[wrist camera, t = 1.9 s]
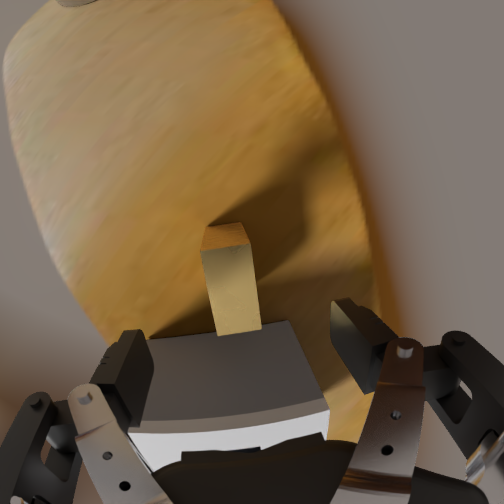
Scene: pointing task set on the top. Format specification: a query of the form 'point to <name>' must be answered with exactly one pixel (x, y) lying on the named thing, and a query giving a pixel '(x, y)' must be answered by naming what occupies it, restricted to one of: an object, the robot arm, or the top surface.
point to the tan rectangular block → (230, 278)
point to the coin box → (228, 394)
